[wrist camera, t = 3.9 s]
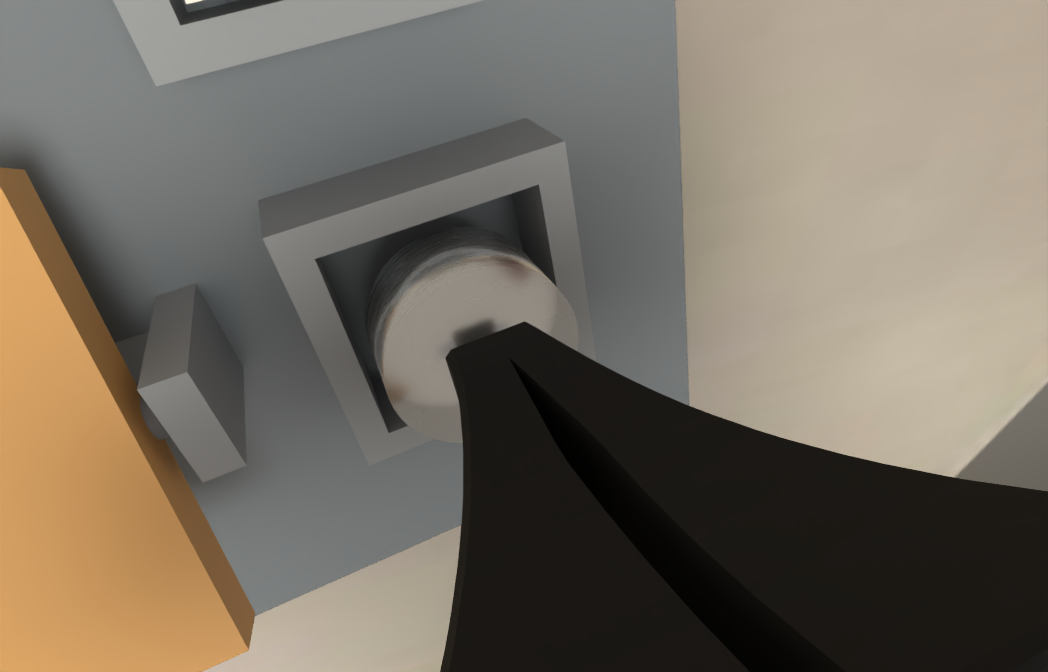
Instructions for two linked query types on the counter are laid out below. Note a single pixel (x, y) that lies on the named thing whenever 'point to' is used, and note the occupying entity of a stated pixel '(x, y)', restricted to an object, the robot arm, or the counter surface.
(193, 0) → the button square
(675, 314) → the console
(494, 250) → the button round
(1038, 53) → the counter surface
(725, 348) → the counter surface
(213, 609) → the rocker
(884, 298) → the counter surface
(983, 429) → the counter surface
